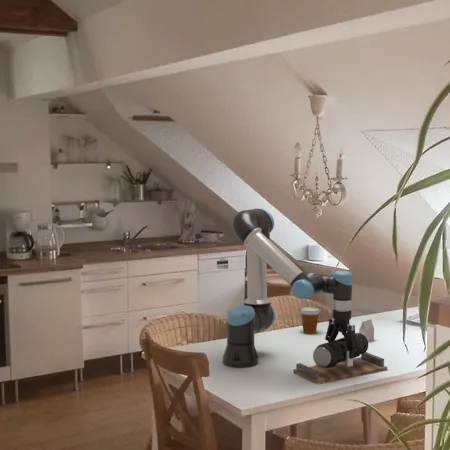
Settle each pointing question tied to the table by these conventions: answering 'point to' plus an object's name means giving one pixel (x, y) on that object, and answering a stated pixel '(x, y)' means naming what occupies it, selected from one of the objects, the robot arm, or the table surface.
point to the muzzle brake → (337, 351)
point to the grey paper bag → (367, 330)
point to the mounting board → (342, 369)
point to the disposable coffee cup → (309, 319)
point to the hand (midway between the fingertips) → (340, 362)
